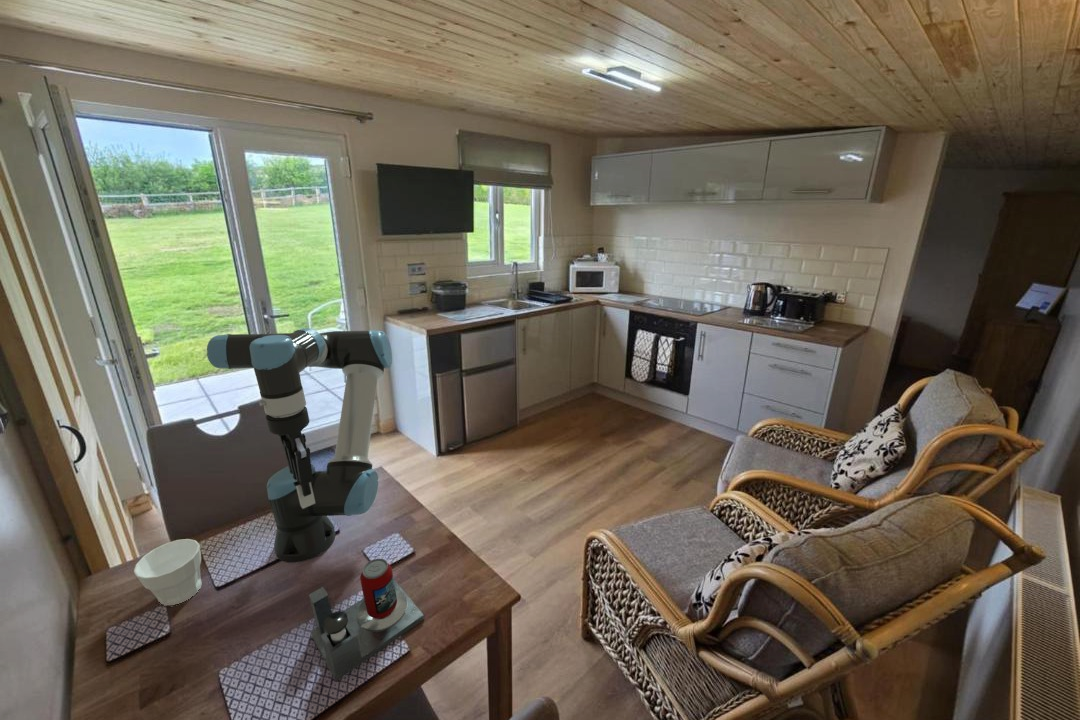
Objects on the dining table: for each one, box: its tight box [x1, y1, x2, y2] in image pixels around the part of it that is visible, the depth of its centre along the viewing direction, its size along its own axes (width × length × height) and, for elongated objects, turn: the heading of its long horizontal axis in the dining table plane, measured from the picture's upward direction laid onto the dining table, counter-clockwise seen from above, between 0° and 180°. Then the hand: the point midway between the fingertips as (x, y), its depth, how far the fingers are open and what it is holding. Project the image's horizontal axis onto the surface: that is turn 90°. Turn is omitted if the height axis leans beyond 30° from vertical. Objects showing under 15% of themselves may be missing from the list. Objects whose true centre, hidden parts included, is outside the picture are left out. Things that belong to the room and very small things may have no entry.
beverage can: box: [359, 558, 397, 618], centre depth 102 cm, size 7×7×12 cm
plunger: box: [323, 610, 348, 647], centre depth 91 cm, size 4×4×9 cm
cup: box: [133, 538, 203, 605], centre depth 109 cm, size 12×12×11 cm
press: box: [308, 579, 425, 683], centre depth 99 cm, size 14×20×10 cm
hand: (308, 504), depth 101 cm, fingers closed
